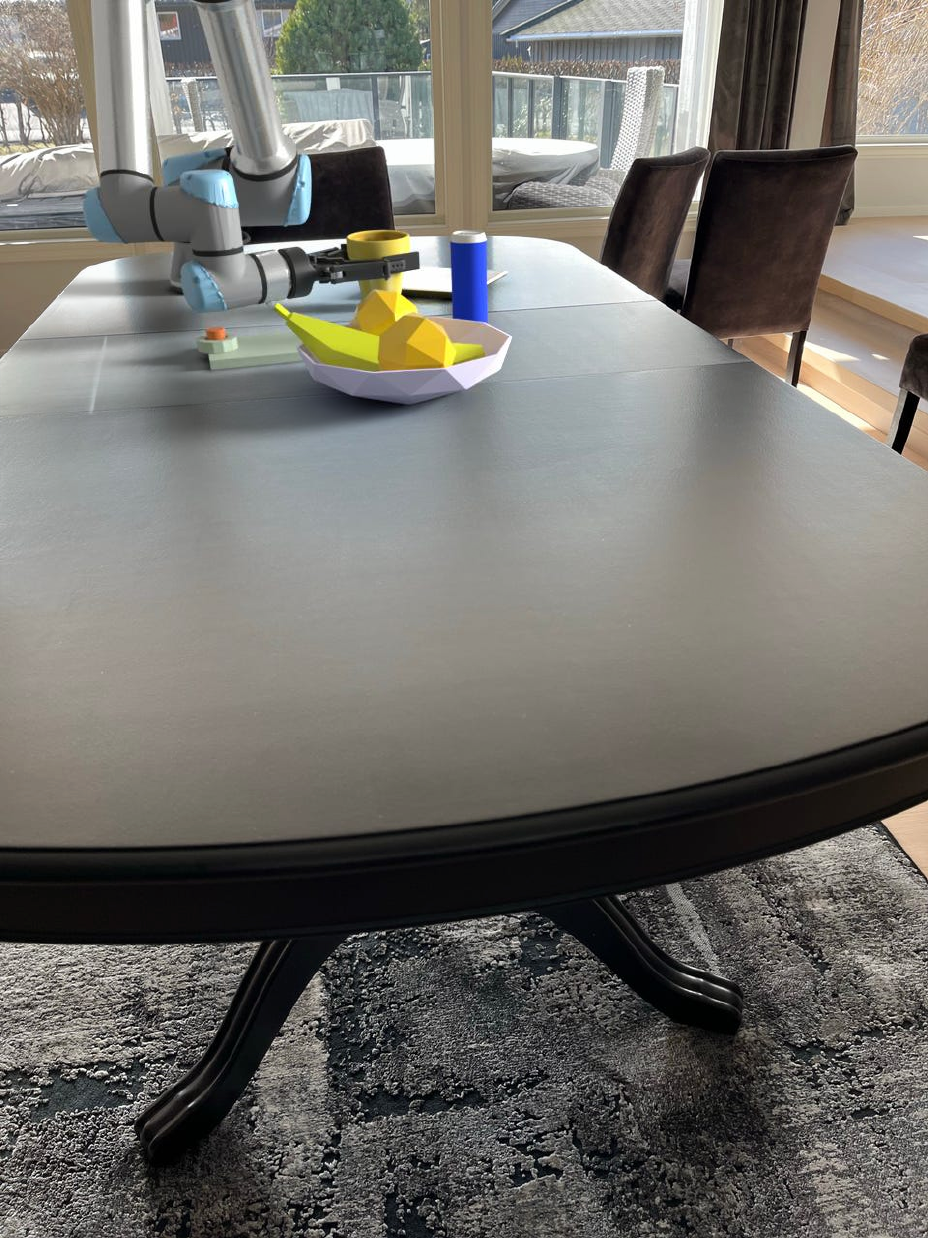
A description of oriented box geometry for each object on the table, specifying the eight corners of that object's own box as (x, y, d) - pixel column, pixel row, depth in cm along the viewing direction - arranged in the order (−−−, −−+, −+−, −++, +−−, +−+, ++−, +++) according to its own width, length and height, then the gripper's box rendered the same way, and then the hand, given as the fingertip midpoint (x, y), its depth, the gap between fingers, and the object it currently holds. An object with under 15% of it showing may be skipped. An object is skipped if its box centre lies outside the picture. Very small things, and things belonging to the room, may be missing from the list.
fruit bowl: (524, 361, 130) (525, 275, 124) (483, 427, 107) (482, 326, 101) (332, 354, 135) (324, 272, 130) (255, 416, 113) (241, 319, 107)
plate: (373, 297, 167) (373, 285, 166) (417, 277, 182) (417, 266, 181) (471, 304, 161) (471, 291, 160) (508, 282, 176) (508, 270, 174)
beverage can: (492, 336, 142) (491, 230, 134) (481, 345, 137) (479, 235, 130) (460, 334, 143) (457, 229, 135) (448, 343, 139) (444, 235, 131)
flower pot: (403, 303, 155) (399, 240, 150) (343, 302, 157) (337, 240, 152) (418, 289, 164) (415, 229, 158) (361, 288, 165) (356, 229, 160)
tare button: (207, 338, 135) (205, 327, 134) (225, 336, 136) (223, 325, 135) (207, 342, 133) (205, 331, 132) (226, 341, 134) (224, 330, 133)
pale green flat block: (198, 349, 140) (195, 329, 139) (314, 338, 144) (312, 318, 142) (201, 371, 130) (197, 349, 129) (325, 358, 134) (323, 337, 132)
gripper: (254, 287, 158) (367, 268, 169) (318, 311, 142) (439, 289, 153) (247, 240, 154) (364, 224, 165) (312, 259, 138) (437, 240, 149)
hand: (400, 255), depth 159 cm, fingers closed on flower pot, 10 cm apart
